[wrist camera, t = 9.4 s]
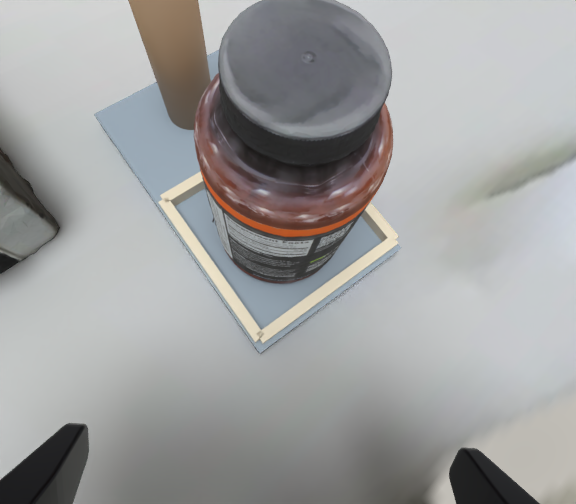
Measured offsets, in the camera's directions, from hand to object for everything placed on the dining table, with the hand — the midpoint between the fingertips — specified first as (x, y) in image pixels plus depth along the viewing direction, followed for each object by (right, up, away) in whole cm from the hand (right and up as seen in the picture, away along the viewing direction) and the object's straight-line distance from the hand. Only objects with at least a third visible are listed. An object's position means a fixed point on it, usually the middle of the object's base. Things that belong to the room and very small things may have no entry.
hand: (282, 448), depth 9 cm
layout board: (-2, +8, +12) cm, 14 cm away
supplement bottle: (0, +6, +10) cm, 12 cm away
